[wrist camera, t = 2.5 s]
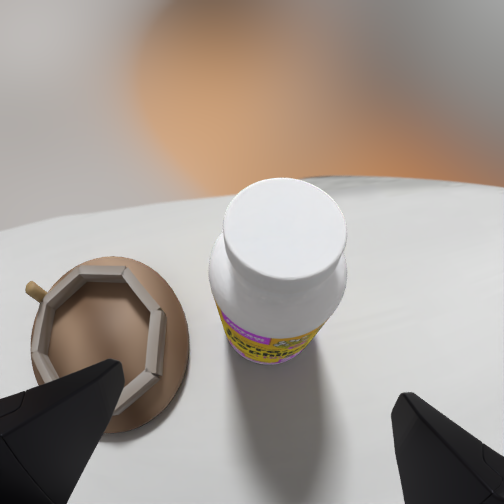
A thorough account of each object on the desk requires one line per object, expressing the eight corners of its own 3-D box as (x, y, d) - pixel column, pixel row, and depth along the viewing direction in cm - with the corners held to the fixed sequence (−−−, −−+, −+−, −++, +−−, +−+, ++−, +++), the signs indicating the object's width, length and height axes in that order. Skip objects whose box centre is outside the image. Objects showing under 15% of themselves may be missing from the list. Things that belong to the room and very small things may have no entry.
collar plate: (94, 465, 15) (68, 471, 12) (17, 327, 21) (-8, 313, 18) (230, 350, 21) (226, 338, 18) (123, 232, 26) (108, 207, 23)
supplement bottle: (215, 355, 21) (168, 284, 10) (235, 276, 24) (221, 151, 13) (305, 373, 20) (369, 323, 9) (318, 291, 23) (369, 176, 12)
